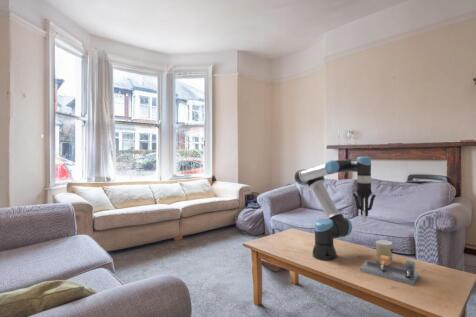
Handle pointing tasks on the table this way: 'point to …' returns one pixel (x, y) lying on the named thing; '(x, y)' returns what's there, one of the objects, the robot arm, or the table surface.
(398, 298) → the table surface
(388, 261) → the block
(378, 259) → the coffee cup
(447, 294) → the table surface
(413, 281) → the plate
